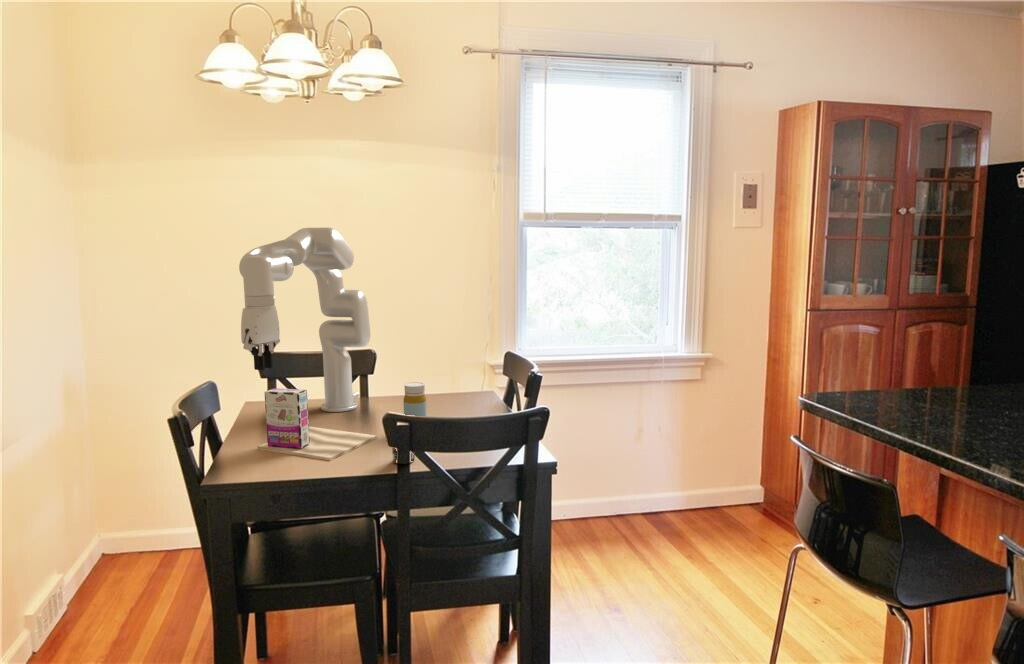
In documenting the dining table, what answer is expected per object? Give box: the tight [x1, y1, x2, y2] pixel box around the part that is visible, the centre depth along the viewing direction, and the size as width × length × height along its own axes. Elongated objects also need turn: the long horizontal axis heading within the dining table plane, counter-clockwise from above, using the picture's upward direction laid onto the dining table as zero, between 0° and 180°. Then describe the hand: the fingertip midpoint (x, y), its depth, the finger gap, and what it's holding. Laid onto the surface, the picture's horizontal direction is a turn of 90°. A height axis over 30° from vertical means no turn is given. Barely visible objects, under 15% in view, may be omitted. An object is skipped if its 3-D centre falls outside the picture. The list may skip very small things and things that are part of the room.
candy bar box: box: [264, 388, 310, 449], centre depth 194 cm, size 11×5×16 cm, turn 76°
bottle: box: [403, 381, 427, 416], centre depth 211 cm, size 7×7×15 cm
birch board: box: [256, 426, 378, 461], centre depth 200 cm, size 22×26×1 cm
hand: (263, 368), depth 184 cm, fingers closed
